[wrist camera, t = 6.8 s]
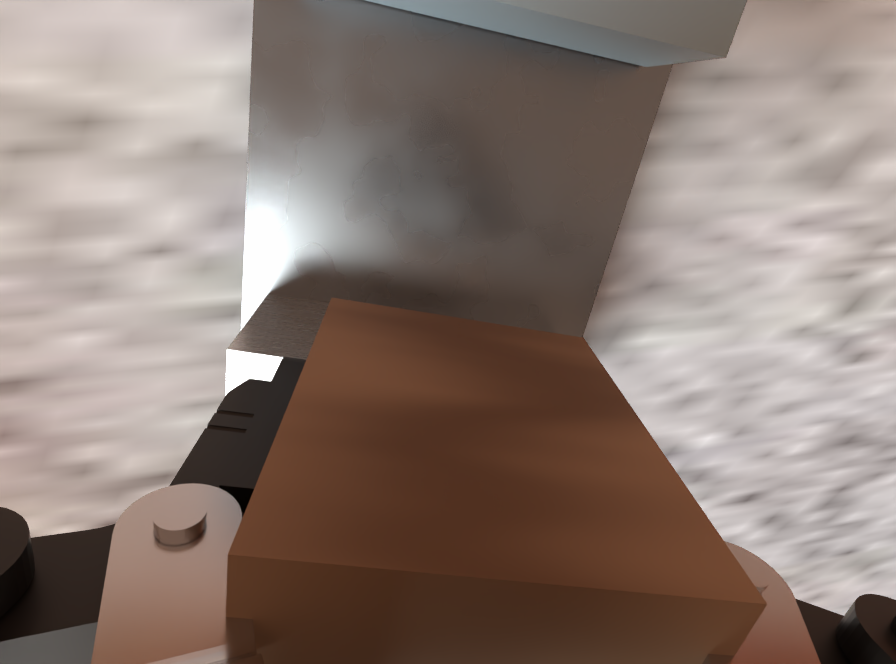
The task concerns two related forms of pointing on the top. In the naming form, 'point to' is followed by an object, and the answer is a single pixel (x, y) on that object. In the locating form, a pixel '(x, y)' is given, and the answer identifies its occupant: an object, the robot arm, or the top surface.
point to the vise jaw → (603, 25)
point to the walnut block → (474, 510)
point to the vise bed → (427, 173)
